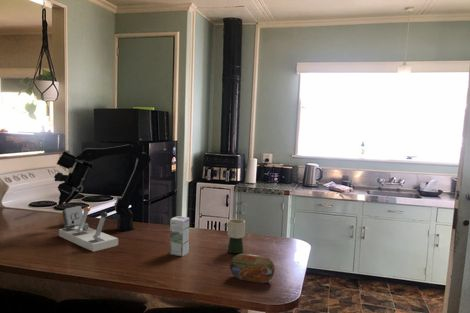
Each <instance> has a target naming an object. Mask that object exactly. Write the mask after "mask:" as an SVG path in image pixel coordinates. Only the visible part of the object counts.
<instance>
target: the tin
mask: <svg viewBox="0 0 470 313" xmlns="http://www.w3.org/2000/svg"><path fill="white" fill-rule="evenodd" d="M229 269H230V272H231V274H232V275H233V276H234V277H235V279H238V280H241V281H246V282H253V283H260V284H266V283H268V282H270V281H271V280H272V278H273V276H274V275H275V272H276V271H275V270H276V269H275V264H274V262H273V261H272V260H271V259H270V258H269V257H267V256H266V255H265V256H264V255H258V254H257V255H256V254H249V253H245V252H244V253H243V252H242V253H237V254H236V255H234V256H233V257H232V258H231V260H230V262H229Z"/></svg>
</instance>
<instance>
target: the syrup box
mask: <svg viewBox="0 0 470 313" xmlns="http://www.w3.org/2000/svg"><path fill="white" fill-rule="evenodd" d="M169 224H170V225H169V226H170V230H169V232H170V234H169V237H170V238H169V255H170V256H176V257H177V256H178V257H184V256H186V255H188V254H189V251H190V250H189V248H190V246H189V244H190V242H189V240H190V237H189V236H190V217H185V216H174V217H172V218H171V219H170V223H169Z"/></svg>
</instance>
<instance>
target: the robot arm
mask: <svg viewBox="0 0 470 313" xmlns="http://www.w3.org/2000/svg"><path fill="white" fill-rule="evenodd" d="M127 153H128V154H130V155H131V156H133V157H134V158H136V161H135V165H134V169H133V172H132V173H131V176H130V177H129V181H128V182H127V185H126V187H125V189H124V192H123V193H122V195H121V196H117V197H116V201H115V202H114V204H113V205H114V210H115V213H116V214H117V215H119V216H118V218H117V225H116V226H117V227H115V229H116V230H117V231H121V232H128V231H132V230H135V227H134V215H133V211H132V210H131V209H129V208H130V204H131V203H130V202H131V198H132V196H133V194H134V192H135V189H136V187H137V185H138V182H139V180H140V178H141V176H142V174H143V172H144V171H145V170H146V168H148V166H149V164H150V163H151V159H152V158H151V156H150V155H149V153H147V152H142V151H140V150H139V149H138V148H136V147H135V146H134V145H133V144H131V143H130V144H129V143H128V144H124V145H118V146H112V147H111V146H109V147H104V148H98V147H96V148H95V147H93V148H92V147H87V148H84V150H82V152H81V153H80V154H77V155H74V154H71V153H69V152H68V151H65V150H64V151H63V152H62V153H61V155H60V157H59V158H58V160H57V162H56V165H57V166H60V167H62V168H65V169H68V170H70V169H73V170H72V172H69V173H68V174H63V172H57V173H55V174H54V176H53V178H54V182H61V183H59V184H58V186H57V190H58V192H59V198H58V204H57V205H58V206H59V207H60V206H62V205H63V204H66V205H67V204H68V203H70V202H71V201H72V200H73V199H75V198H76V197H77V196H78V195H79V194H81V192H83V190H84V185H83V184H82V182H83V181H84V180H85V176H86V175H87V172H88V170H89V169H94V168H95V167H94V164H93V162H91V161H95V160H98V159H101V158H104V157H109V156H115V155H120V154H121V155H122V154H127ZM82 161H83V162H82Z"/></svg>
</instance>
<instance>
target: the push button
mask: <svg viewBox="0 0 470 313" xmlns="http://www.w3.org/2000/svg"><path fill="white" fill-rule="evenodd" d="M88 227H89V223H87V222H85V224H84V227H83V230H84V229H88Z"/></svg>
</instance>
